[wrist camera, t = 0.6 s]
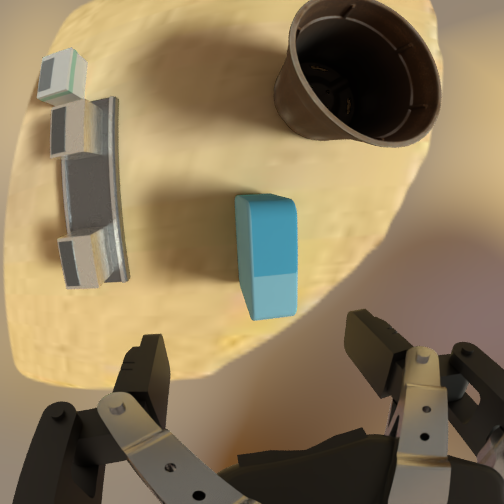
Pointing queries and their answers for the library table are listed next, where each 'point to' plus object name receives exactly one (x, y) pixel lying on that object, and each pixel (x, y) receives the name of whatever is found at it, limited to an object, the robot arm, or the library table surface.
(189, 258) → the library table surface
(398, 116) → the plant pot
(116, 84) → the library table surface
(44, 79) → the block
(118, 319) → the library table surface
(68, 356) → the library table surface
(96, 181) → the rail
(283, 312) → the data package
